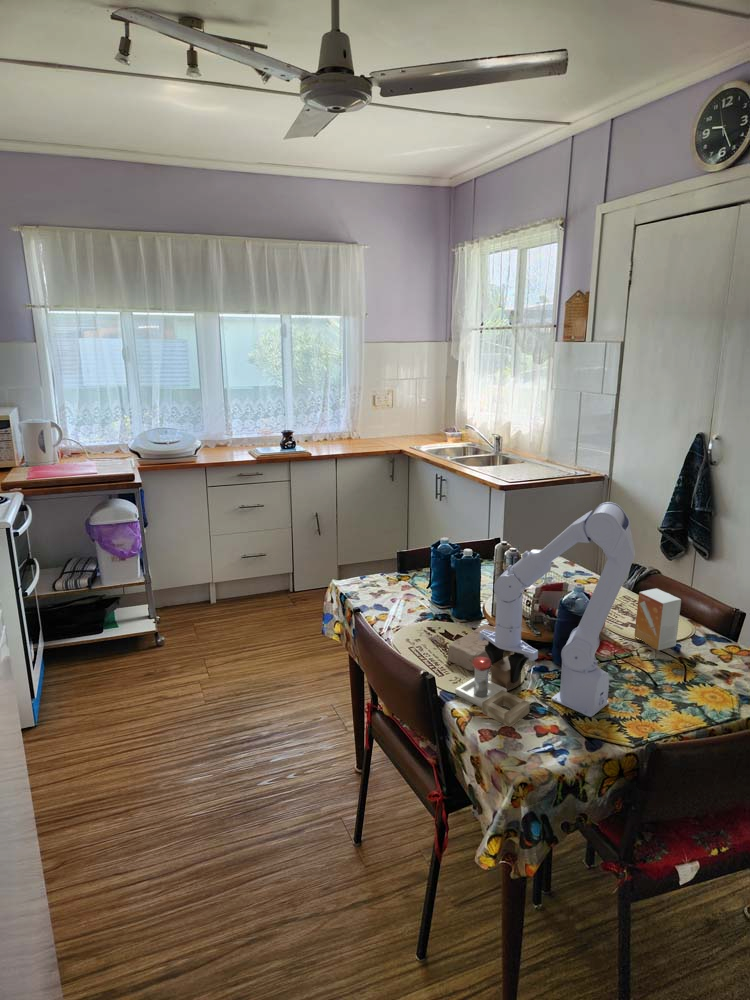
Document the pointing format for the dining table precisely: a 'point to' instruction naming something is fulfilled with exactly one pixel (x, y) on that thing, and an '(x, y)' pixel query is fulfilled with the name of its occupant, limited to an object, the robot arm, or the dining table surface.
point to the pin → (481, 676)
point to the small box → (657, 618)
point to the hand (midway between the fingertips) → (506, 677)
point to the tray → (468, 692)
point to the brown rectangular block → (503, 674)
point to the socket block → (495, 711)
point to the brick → (469, 648)
